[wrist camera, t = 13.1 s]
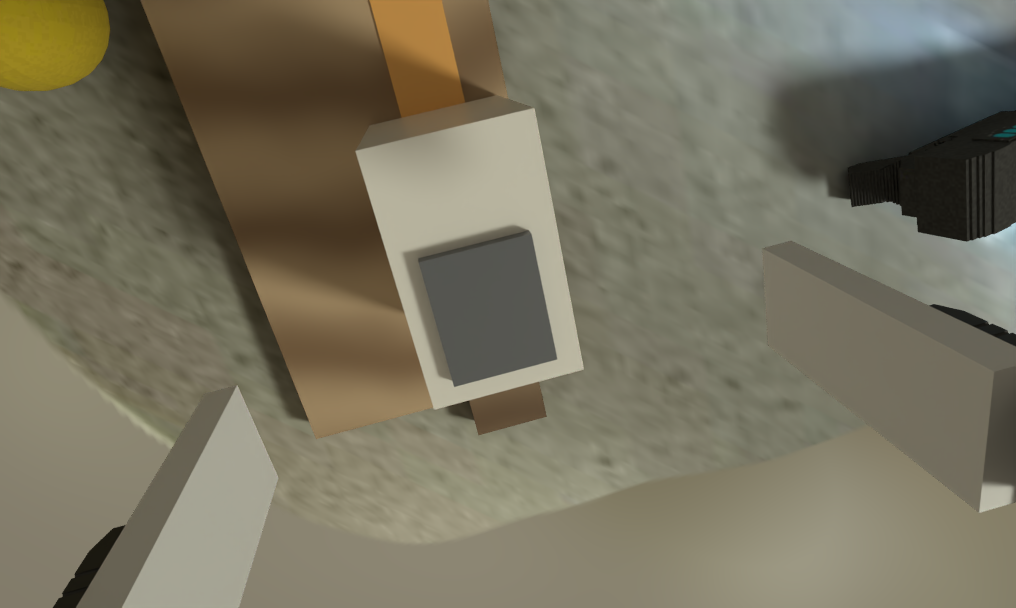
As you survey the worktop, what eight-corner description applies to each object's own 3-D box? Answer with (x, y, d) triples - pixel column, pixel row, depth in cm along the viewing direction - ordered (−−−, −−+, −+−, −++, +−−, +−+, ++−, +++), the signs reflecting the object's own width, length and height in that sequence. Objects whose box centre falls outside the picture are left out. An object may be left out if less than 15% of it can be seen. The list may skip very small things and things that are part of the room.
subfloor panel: (127, -65, 26) (110, -73, 24) (455, -135, 27) (458, -147, 25) (333, 460, 36) (330, 476, 35) (565, 396, 37) (572, 410, 36)
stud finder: (369, 125, 28) (354, 152, 20) (496, 94, 29) (537, 108, 20) (426, 320, 32) (434, 416, 24) (538, 291, 33) (587, 375, 24)
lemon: (-36, 1, 26) (-212, -24, 18) (62, -86, 25) (-78, -147, 18) (76, 113, 28) (-42, 131, 21) (169, 35, 27) (82, 24, 20)
